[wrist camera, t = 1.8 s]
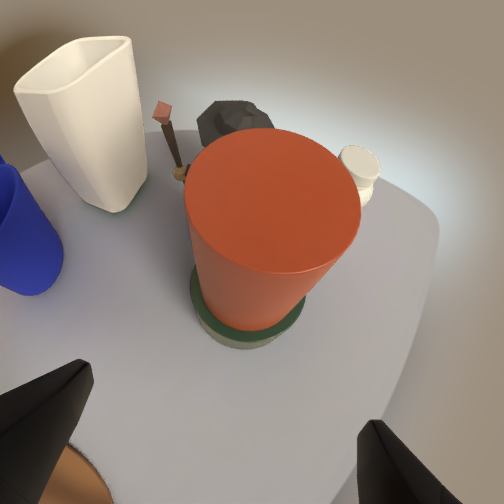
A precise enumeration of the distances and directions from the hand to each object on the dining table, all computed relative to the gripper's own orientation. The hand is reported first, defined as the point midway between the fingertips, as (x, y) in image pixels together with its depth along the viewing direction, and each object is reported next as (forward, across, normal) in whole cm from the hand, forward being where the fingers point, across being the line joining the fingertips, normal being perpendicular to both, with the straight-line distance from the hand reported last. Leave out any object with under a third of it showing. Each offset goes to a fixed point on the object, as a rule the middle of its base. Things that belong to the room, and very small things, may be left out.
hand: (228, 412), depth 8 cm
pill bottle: (+22, -6, -3) cm, 23 cm away
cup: (+20, +15, -1) cm, 25 cm away
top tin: (+11, 0, +1) cm, 11 cm away
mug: (+14, +21, +5) cm, 26 cm away
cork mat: (-1, +12, +20) cm, 23 cm away
